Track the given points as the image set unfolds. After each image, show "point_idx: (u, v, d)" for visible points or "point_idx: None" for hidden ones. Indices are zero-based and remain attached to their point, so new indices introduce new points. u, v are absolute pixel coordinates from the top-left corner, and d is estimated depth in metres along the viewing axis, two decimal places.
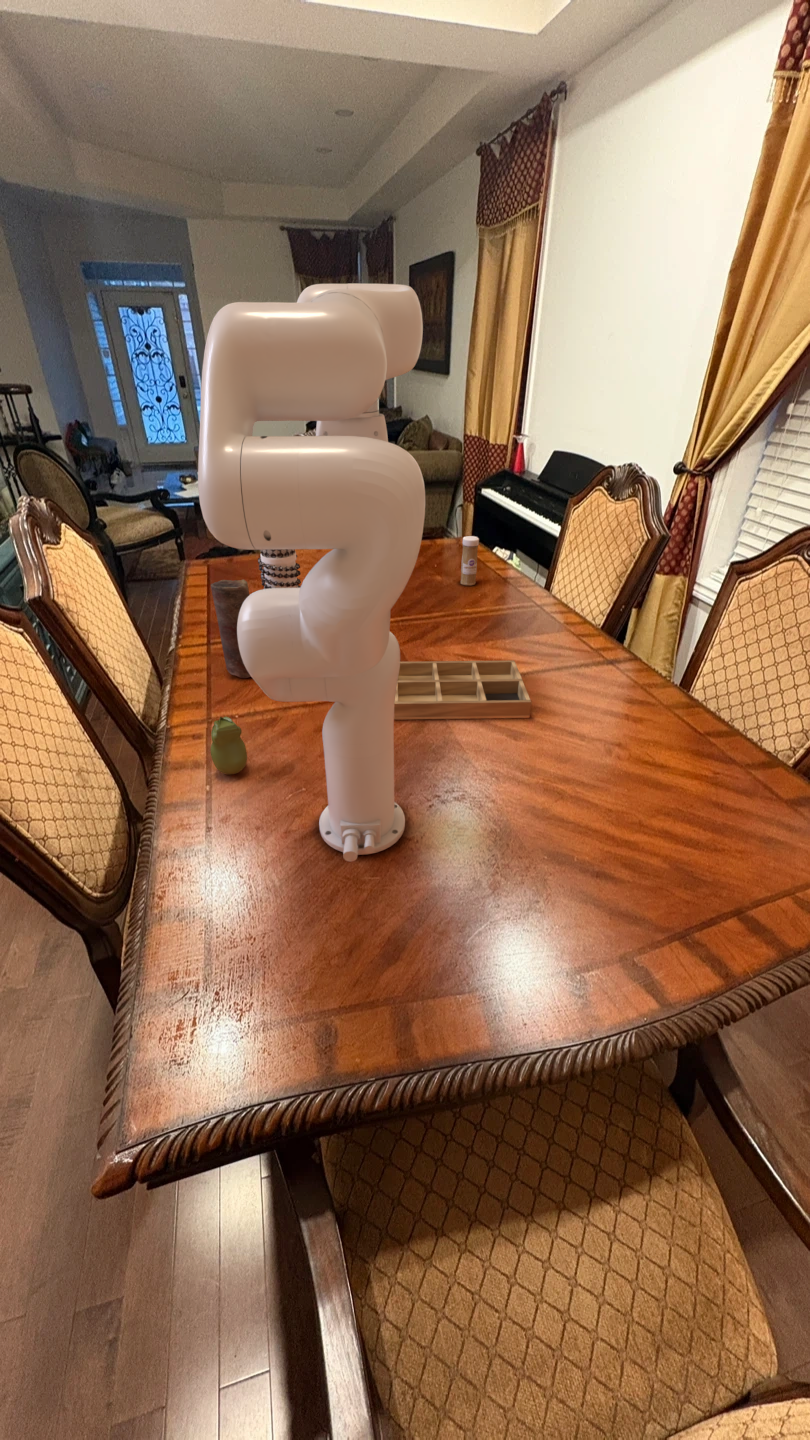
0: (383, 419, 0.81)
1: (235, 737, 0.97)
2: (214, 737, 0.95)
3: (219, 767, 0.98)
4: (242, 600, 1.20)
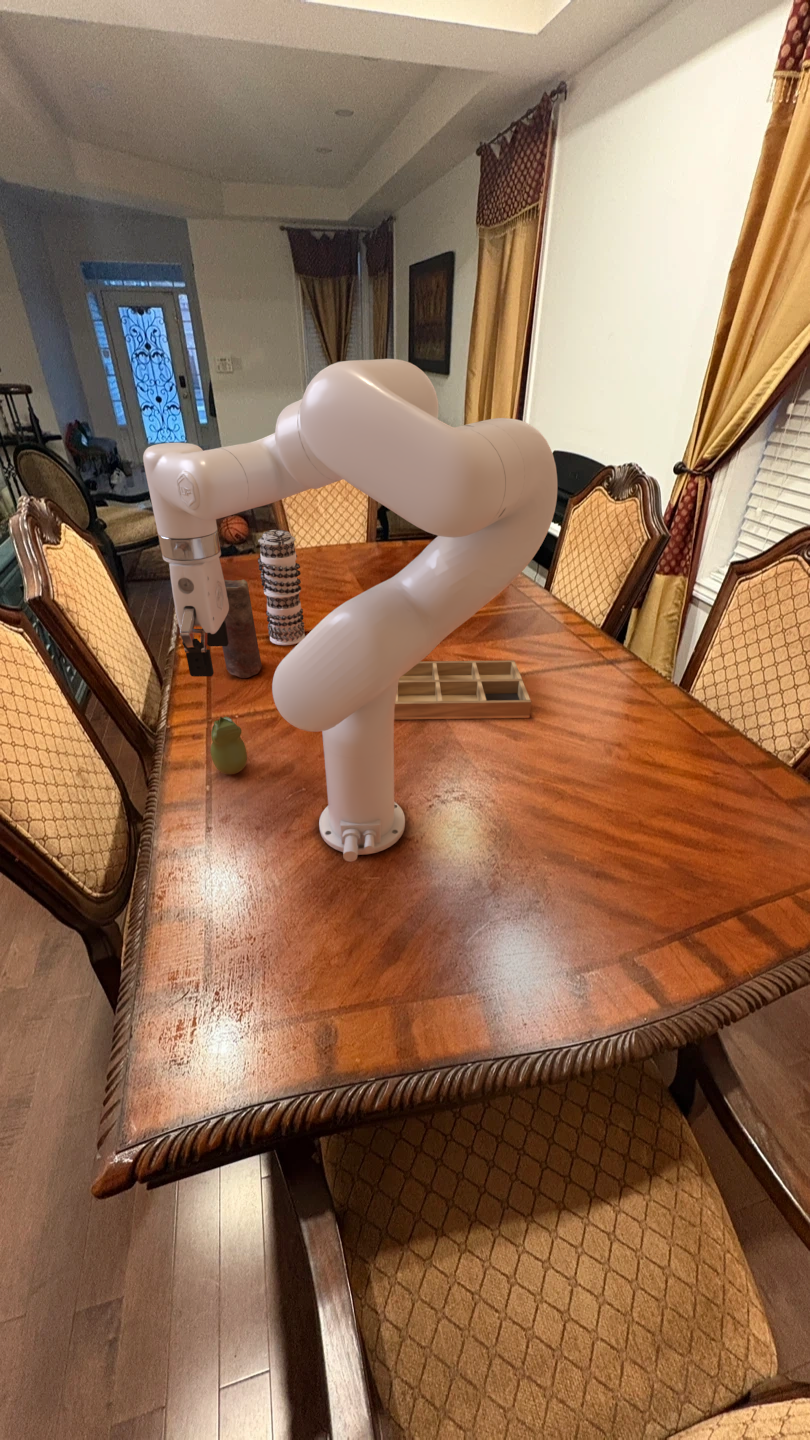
0: None
1: (235, 737, 0.97)
2: (214, 737, 0.95)
3: (219, 767, 0.98)
4: (242, 600, 1.20)
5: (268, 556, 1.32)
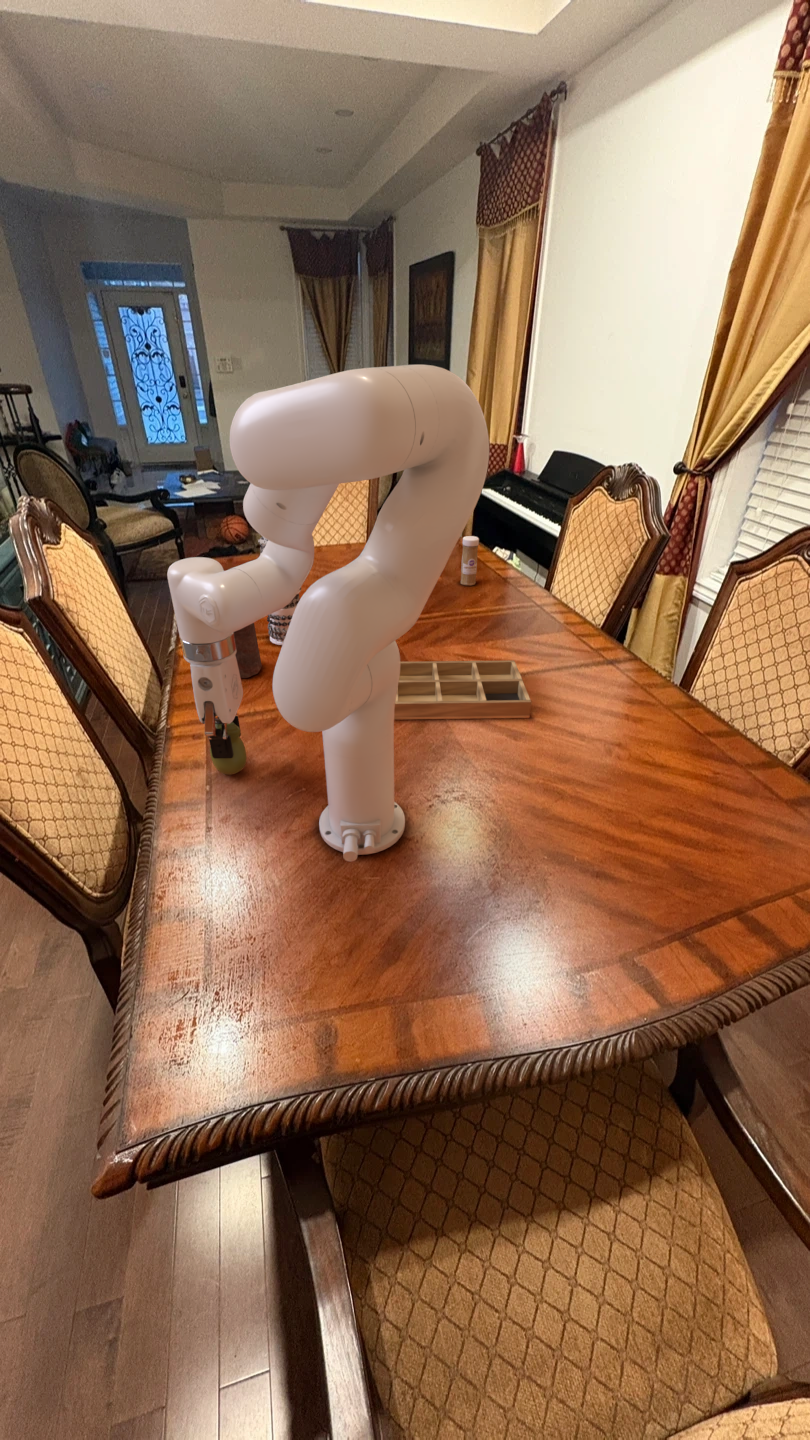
0: None
1: (234, 736, 0.97)
2: None
3: (218, 767, 0.98)
4: None
5: None
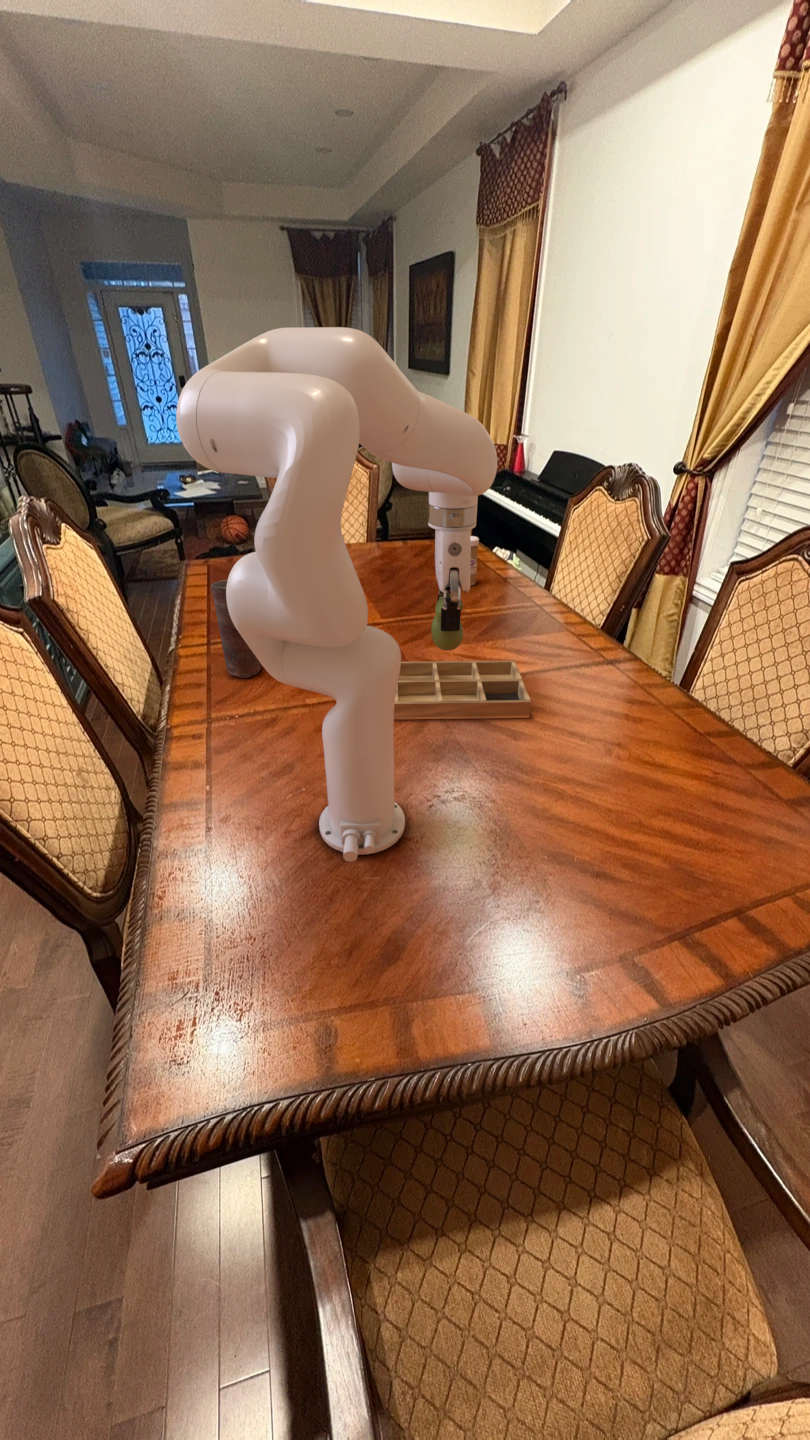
0: None
1: None
2: None
3: (442, 642, 1.03)
4: None
5: None
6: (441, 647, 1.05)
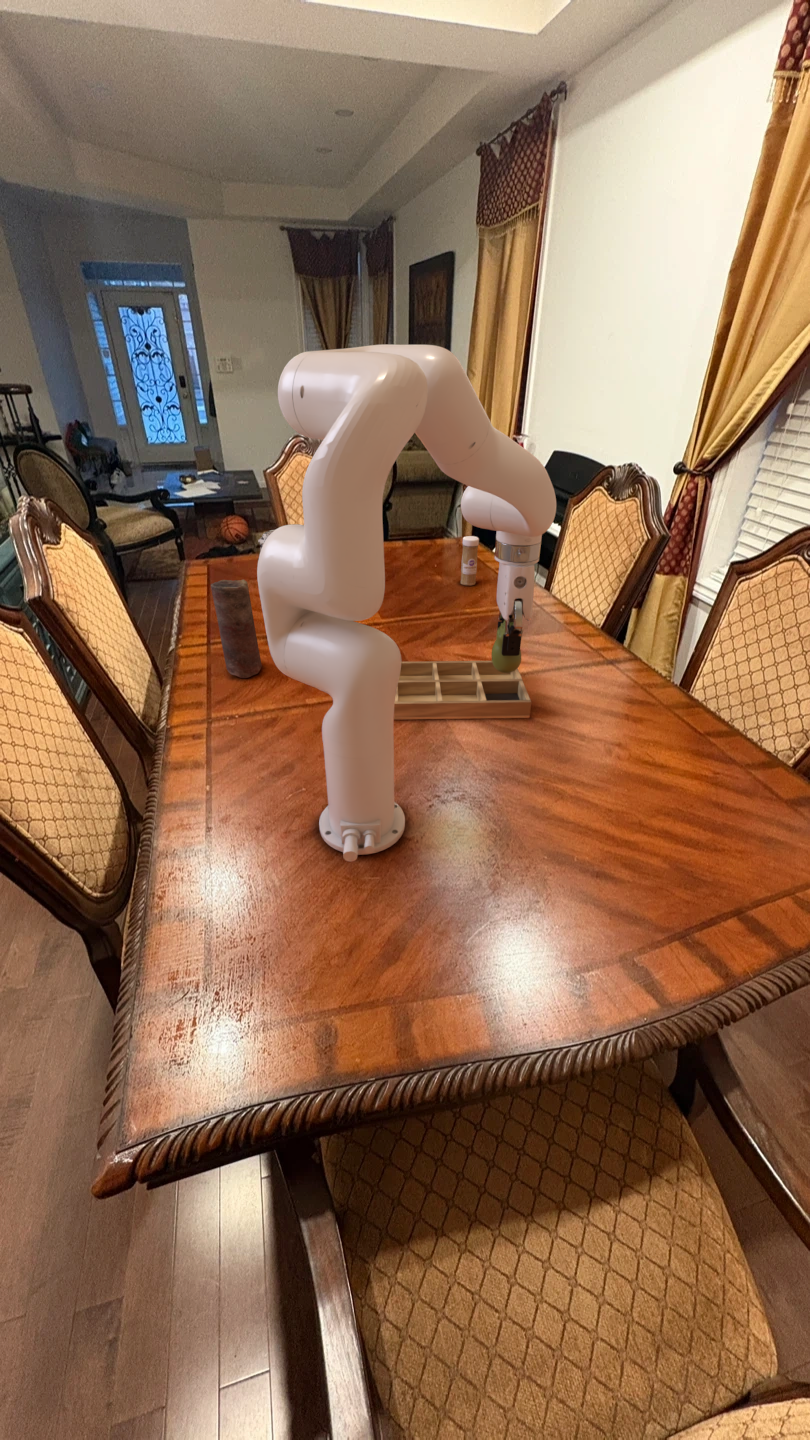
0: None
1: None
2: None
3: (502, 665, 1.11)
4: (242, 600, 1.20)
5: None
6: (501, 670, 1.12)
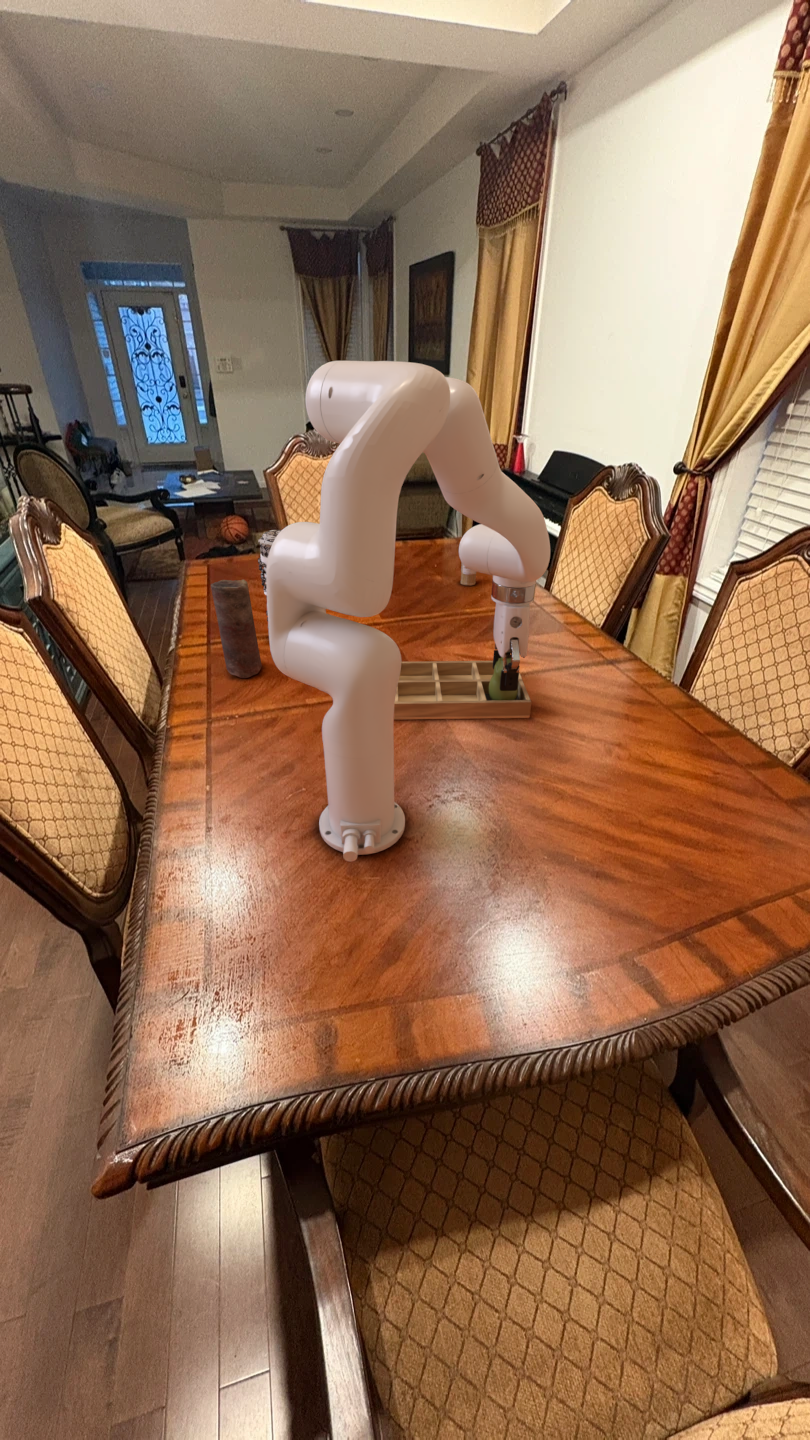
0: None
1: None
2: None
3: (499, 698, 1.15)
4: (242, 600, 1.20)
5: None
6: None
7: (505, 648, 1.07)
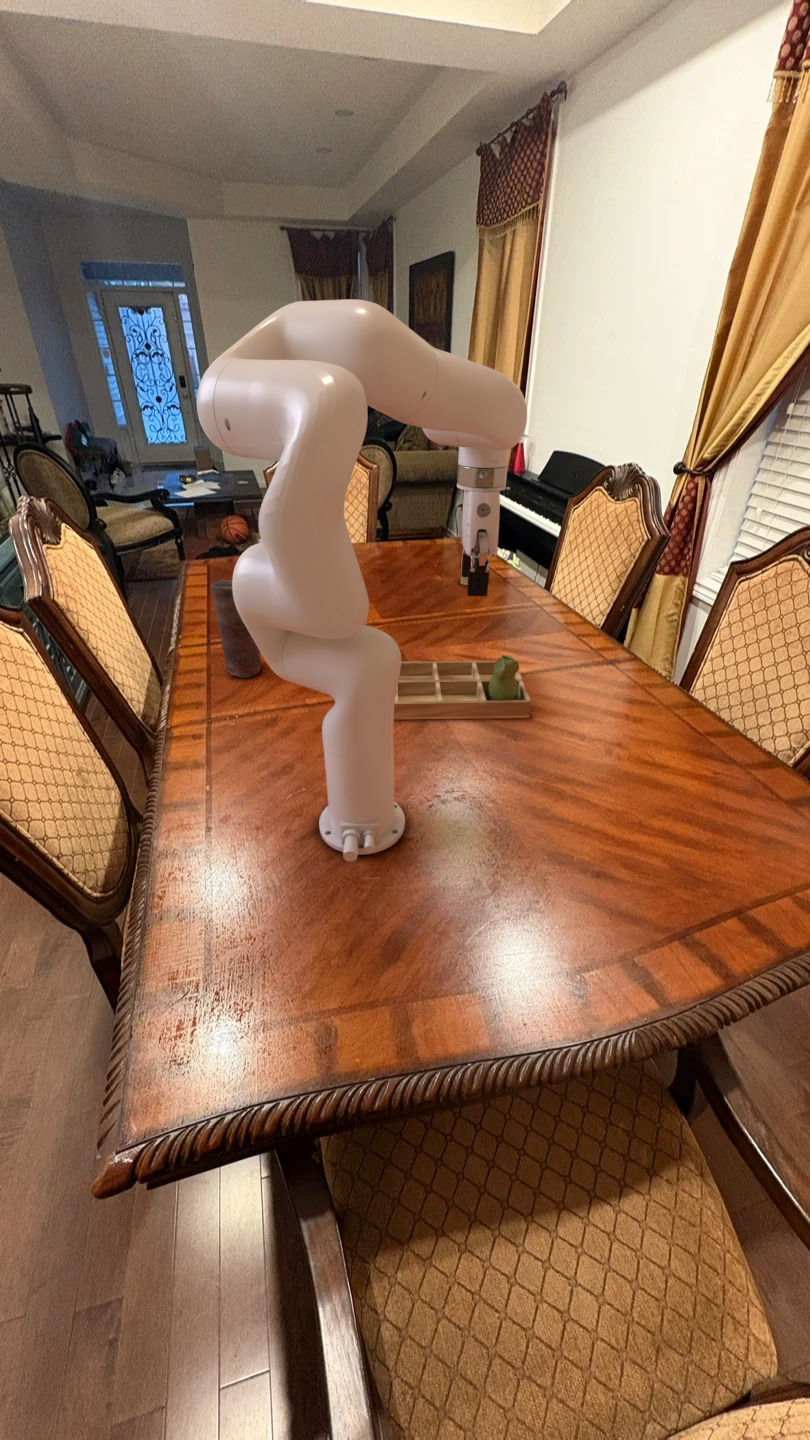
0: None
1: (514, 672, 1.14)
2: (501, 671, 1.12)
3: (499, 698, 1.15)
4: None
5: None
6: None
7: (472, 540, 0.93)
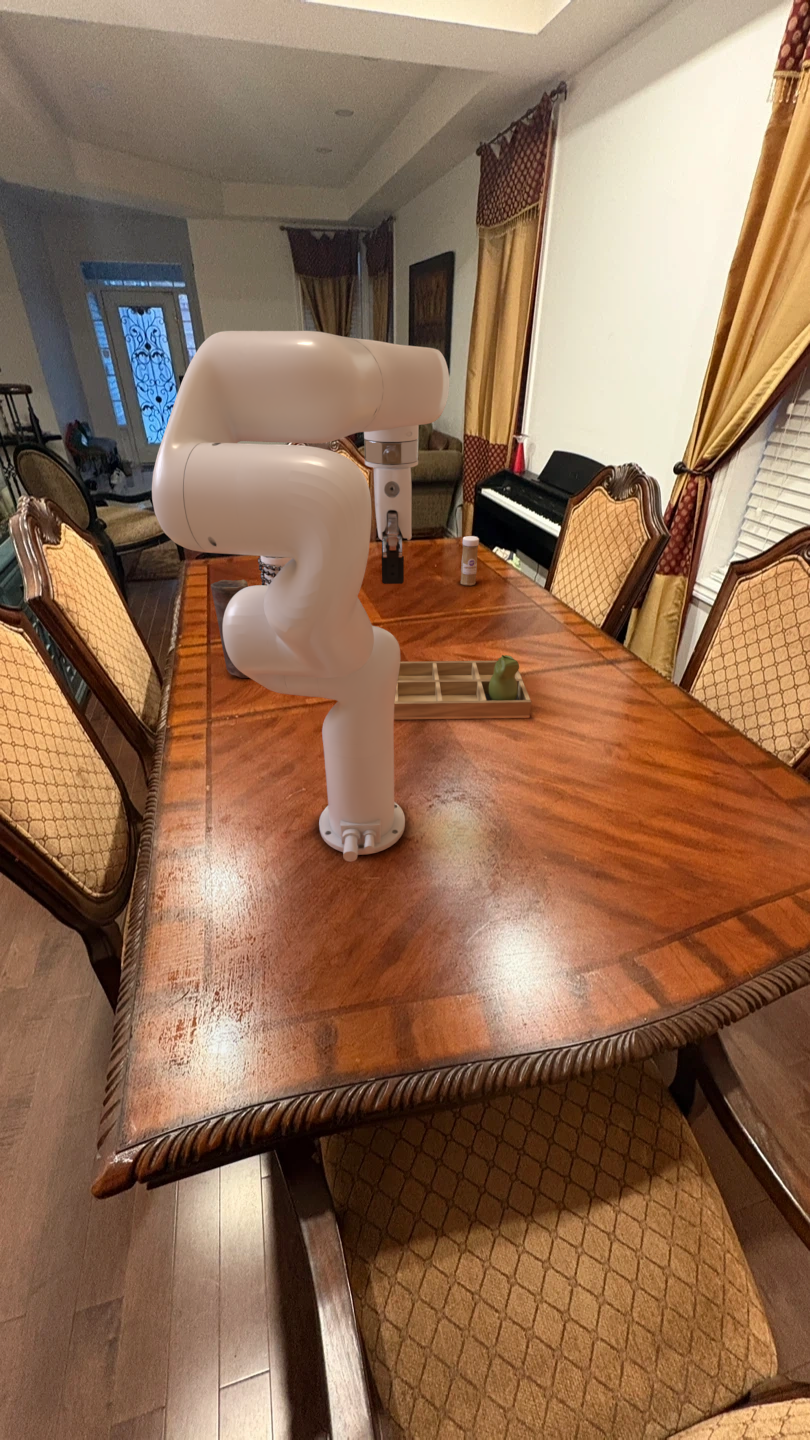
0: None
1: (514, 672, 1.14)
2: (501, 671, 1.12)
3: (499, 698, 1.15)
4: None
5: (268, 556, 1.32)
6: None
7: (382, 522, 0.85)
